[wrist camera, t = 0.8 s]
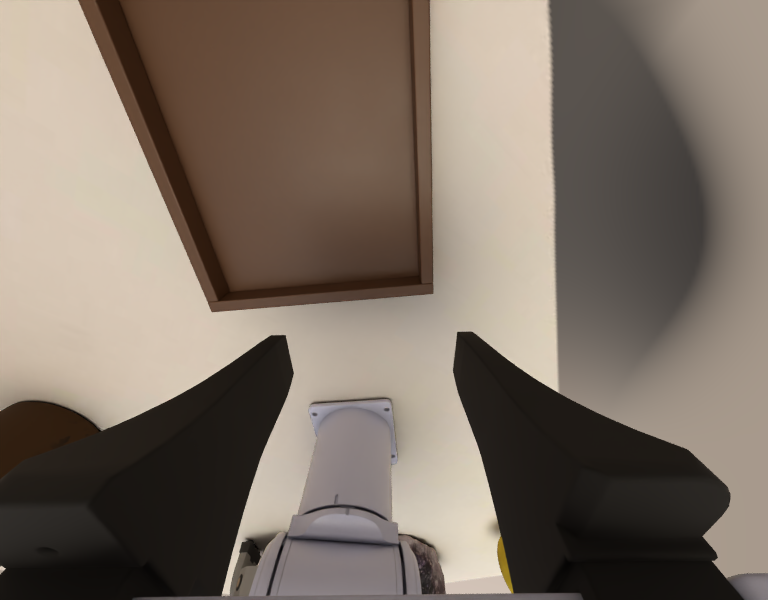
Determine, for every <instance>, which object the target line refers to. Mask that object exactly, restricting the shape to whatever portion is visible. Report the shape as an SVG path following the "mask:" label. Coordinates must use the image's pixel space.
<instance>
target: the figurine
mask: <svg viewBox="0 0 768 600" xmlns="http://www.w3.org/2000/svg"><path fill="white" fill-rule="evenodd" d="M239 553H240V555H239V558H238V561H237V564H236V567H235V570H234V574H233V577H232V582H231V587H230V596H249V593H250V589H251V586H252V583H253V580H254V577H255V574H256V571H257V568H258V566H256V565H258V563H259V560H260V558H261V555H260V551H258V548H255V544H253V541H246V542H242V545H241V548H240V551H239Z"/></svg>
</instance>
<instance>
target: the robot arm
mask: <svg viewBox="0 0 768 600" xmlns="http://www.w3.org/2000/svg"><path fill="white" fill-rule="evenodd" d="M453 373H454V377H455V382H456V386H457V390H458V394H459V396H460V399H461V402H462V405H463V407H464V410H465V413H466V415H467V418H468V421H469V423H470V426H471V428H472V431H473V434H474V436H475V439H476V442H477V445H478V448H479V451H480V454H481V457H482V461H483V465H484V468H485V472H486V476H487V480H488V483H489V487H490V491H491V495H492V499H493V503H494V507H495V511H496V516H497V520H498V524H499V529H500V533H501V537H502V541H503V546H504V550H505V555H506V560H507V564H508V569H509V574H510V578H511V583H512V588H513V593H514V594H422V591H421V581H420V574H419V568H418V563H417V560H416V557H415V555H414V553H413V551H412V550H411V549H410V546H409V544H408V543H407V542H406V541H399V540H398V524H397V523H395V522H392V485H391V465H394V464H396V463H397V462H398V458H397V448H396V439H395V430H394V421H393V412H392V403H391V401H390V400H388V399H380V400H365V401H350V402H336V403H321V404H311V405H310V406H309V409H308V411H309V414H310V417H311V420H312V424H313V427H314V430H315V434H316V437H317V439H316V443H315V447H314V451H313V455H312V459H311V463H310V467H309V471H308V475H307V479H306V483H305V487H304V491H303V495H302V499H301V503H300V507H299V511H298V515H293V517H292V520H291V524H290V528H289V532H288V533H287V532H279V533H278V534H277V535H276V537H275V538H274V539H273V540H272V541H271V542H270V543H269V544H268V545H267V547H266V549H265V550H264V553H263V555H262V557H261V560H260V562H259V565H258V568H257V571H256V574H255V577H254V580H253V583H252V586H251V589H250V593H249V596H223V597H222V596H221V595H222V591H223V587H224V583H225V579H226V575H227V571H228V567H229V563H230V559H231V555H232V551H233V548H234V544H235V541H236V537H237V533H238V530H239V526H240V523H241V519H242V515H243V512H244V509H245V506H246V502H247V499H248V496H249V492H250V489H251V486H252V483H253V480H254V477H255V474H256V471H257V467H258V464H259V461H260V458H261V456H262V453H263V451H264V448H265V446H266V443H267V441H268V439H269V437H270V434H271V432H272V430H273V428H274V425H275V423H276V421H277V419H278V416H279V414H280V412H281V409H282V407H283V405H284V403H285V400H286V398H287V395H288V392H289V389H290V386H291V382H292V378H293V374H294V372H293V368H292V363H291V358H290V354H289V349H288V344H287V340H286V335H271V336H269V337H268V338H266V339H265V340H263V341H262V342H260V343H259V344H257V345H256V346H255V347H253V348H252V349H250V350H249V351H248V352H246V353H245V354H243V355H242V356H240V357H239V358H238V359H236V360H235V361H233V362H232V363H230V364H229V365H227V366H226V367H224V368H223V369H221V370H220V371H218V372H217V373H215V374H214V375H212V376H211V377H209V378H208V379H206V380H204V381H203V382H201V383H199V384H198V385H196V386H194V387H193V388H191V389H189V390H187V391H185V392H184V393H182V394H180V395H178V396H176V397H174V398H173V399H171V400H169V401H167V402H165V403H163V404H161V405H158V406H156V407H154V408H152V409H150V410H148V411H146V412H144V413H142V414H140V415H138V416H136V417H134V418H131V419H129V420H127V421H124V422H122V423H120V424H118V425H115V426H113V427H110V428H108V429H106V430H103V431H101V432H98V433H96V434H93V435H91V436H88V437H86V438H83V439H81V440H78V441H75V442H72V443H70V444H67V445H64V446H61V447H59V448H56V449H53V450H50V451H48V452H45V453H42V454H39V455H37V456H34V457H31V458H28V459H25V460H23V461H22V462H21V463H19V464H18V465H17V466H16V467H14V468H13V469H12V470H11V471H10V472H8V473H7V474H6V475H5V476H4V477H2V478H1V479H0V565H1V566H3V567H4V568H6V569H5V570H4V571H3V572H2V573H1V575H0V600H768V573H759V574H758V573H757V574H739V575H735V576H731V577H728V578H727V579H726V578H725V577H724V575H723V574H722V573H721V572H720V570H719V569H718V568H717V567H716V566H715V564H714V563H713V562H712V561H714V560H716V559H717V558H718V557H717V554H716V552H715V551H714V550H713V548H712V547H711V546H710V545H709V544H708V543H707V541H706V540H705V539H704V538H703V537H702V536H703V535H704V534H705V533H706V532H707V531H708V530H709V529H710V528H711V526H713V525H714V523H715V522H716V521H717V520H718V519H719V518H720V517H721V516H722V515H723V514H724V512H725V511H726V510H727V508H728V507H729V503H730V492H729V490H728V487H727V486H726V485H725V484H724V483H723V482H722V481H721V480H720V479H719V478H718V477H717V476H715V475H714V474H713V473H712V472H711V471H710V470H709V469H708V468H707V467H706V466H705V465H704V464H703V463H702V462H700V461H699V460H698V459H697V458H696V457H695V456H694V455H693V454H692V453H691V452H690V451H689V450H687V449H685V448H682V447H680V446H677V445H674V444H671V443H669V442H666V441H664V440H661V439H658V438H656V437H653V436H650V435H648V434H645V433H642V432H640V431H637V430H635V429H633V428H630V427H628V426H626V425H623V424H621V423H619V422H616V421H614V420H611V419H609V418H607V417H605V416H603V415H601V414H598V413H596V412H594V411H592V410H590V409H588V408H586V407H584V406H582V405H580V404H578V403H576V402H574V401H572V400H570V399H568V398H566V397H565V396H563V395H561V394H559V393H557V392H556V391H554V390H552V389H551V388H549V387H547V386H546V385H544V384H542V383H541V382H539V381H537V380H536V379H534V378H533V377H531V376H530V375H528V374H527V373H525V372H524V371H523V370H521V369H520V368H518V367H517V366H515V365H514V364H513V363H511V362H510V361H509V360H507V359H506V358H505V357H503V356H502V355H501V354H500V353H498V352H497V351H496V350H495V349H493V348H492V347H491V346H490V345H488V344H487V343H486V342H485V341H483V340H482V339H481V338H480V337H479V336H477V335H476V334H475V333H473V332H457V340H456V349H455V358H454V366H453ZM314 412H315V413H314Z"/></svg>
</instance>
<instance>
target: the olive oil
mask: <svg viewBox="0 0 768 600" xmlns="http://www.w3.org/2000/svg"><path fill="white" fill-rule="evenodd" d="M98 432H99V431H98V430H97V428H96V427H95V426H93V425H92V424H91V423H90V422H89V421H87V420H86V419H84V418H83V417H81V416H80V415H78V414H76V413H74V412H72V411H70V410H67V409H65V408H62V407H59V406H56V405H52V404H48V403H42V402H21V403H16V404H13V405H11V406H9V407H7V408H6V409H4V410H2V411H0V479H1V478H2V477H4V476H5V475H6V474H7V473H8V472H10V471H11V470H12V469H13V468H14V467H16V466H17V465H18V464H19V463H21V462H22V461H23V460H25V459H28V458H31V457H34V456H37V455H39V454H42V453H45V452H48V451H50V450H53V449H56V448H59V447H61V446H64V445H67V444H70V443H72V442H75V441H78V440H81V439H83V438H86V437H88V436H91V435H93V434H96V433H98ZM0 566H1V565H0Z"/></svg>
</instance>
